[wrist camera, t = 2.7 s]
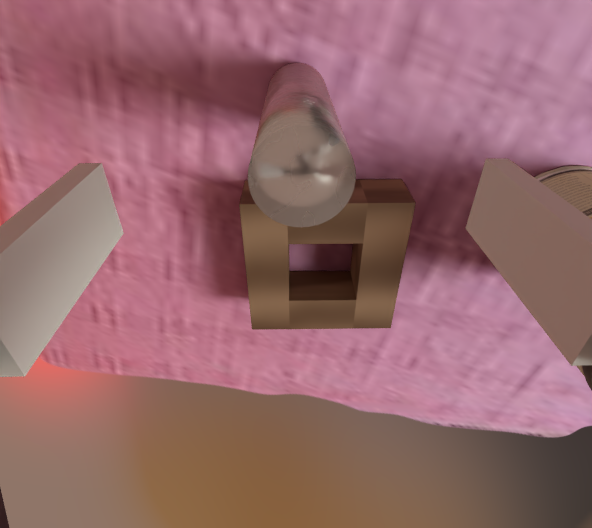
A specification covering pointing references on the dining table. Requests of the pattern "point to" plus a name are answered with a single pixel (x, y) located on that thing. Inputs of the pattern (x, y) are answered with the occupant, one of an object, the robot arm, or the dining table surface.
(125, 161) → the dining table surface
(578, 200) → the coffee can
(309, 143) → the long pin
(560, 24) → the dining table surface
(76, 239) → the robot arm
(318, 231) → the hole block
